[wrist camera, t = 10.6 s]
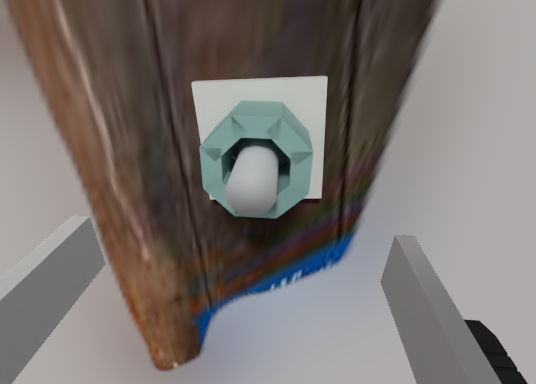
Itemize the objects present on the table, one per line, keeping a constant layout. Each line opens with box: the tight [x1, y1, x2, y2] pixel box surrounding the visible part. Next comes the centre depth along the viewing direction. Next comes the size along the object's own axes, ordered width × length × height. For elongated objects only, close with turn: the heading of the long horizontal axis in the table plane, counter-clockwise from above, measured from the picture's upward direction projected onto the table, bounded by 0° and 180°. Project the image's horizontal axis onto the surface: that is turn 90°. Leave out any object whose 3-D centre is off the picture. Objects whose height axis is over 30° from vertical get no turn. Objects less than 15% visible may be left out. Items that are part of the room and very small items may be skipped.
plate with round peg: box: [191, 76, 327, 216], centre depth 22 cm, size 11×11×10 cm
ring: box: [200, 100, 313, 218], centre depth 23 cm, size 8×8×5 cm
